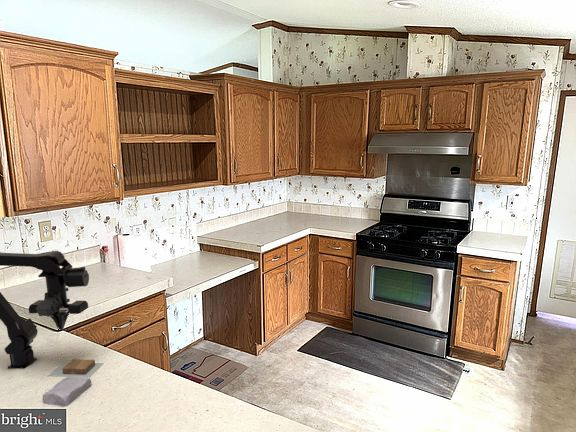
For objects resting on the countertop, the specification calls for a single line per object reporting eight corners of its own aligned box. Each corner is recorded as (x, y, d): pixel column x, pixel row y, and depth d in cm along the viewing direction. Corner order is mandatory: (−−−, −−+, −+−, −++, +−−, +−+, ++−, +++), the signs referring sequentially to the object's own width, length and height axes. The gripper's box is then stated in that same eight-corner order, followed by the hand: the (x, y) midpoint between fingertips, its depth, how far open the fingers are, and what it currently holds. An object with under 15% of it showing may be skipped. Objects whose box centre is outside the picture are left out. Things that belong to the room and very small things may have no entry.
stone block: (40, 411, 121) (68, 408, 119) (36, 396, 121) (64, 392, 119) (69, 389, 133) (95, 386, 131) (65, 375, 132) (91, 372, 130)
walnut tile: (62, 368, 136) (84, 369, 136) (72, 359, 142) (94, 359, 142) (62, 374, 137) (85, 374, 136) (73, 364, 143) (95, 365, 142)
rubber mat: (47, 377, 136) (47, 376, 136) (63, 362, 144) (63, 362, 144) (90, 378, 134) (89, 377, 134) (104, 363, 143) (104, 363, 143)
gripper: (14, 295, 134) (20, 339, 137) (67, 296, 133) (72, 340, 135) (37, 284, 145) (42, 325, 148) (86, 284, 144) (91, 326, 146)
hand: (61, 329), depth 144 cm, fingers closed
